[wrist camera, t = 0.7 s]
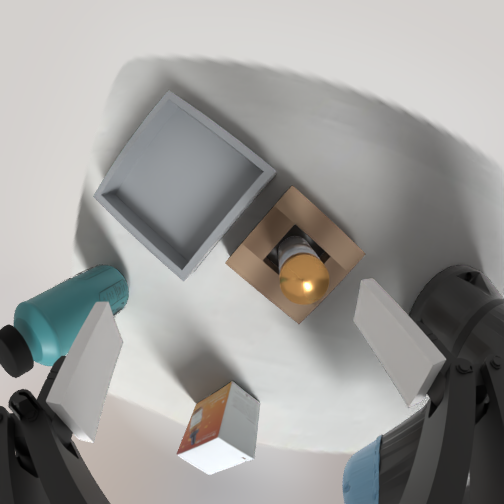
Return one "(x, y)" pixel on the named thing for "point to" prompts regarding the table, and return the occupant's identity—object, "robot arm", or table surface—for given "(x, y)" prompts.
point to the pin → (301, 272)
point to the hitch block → (273, 230)
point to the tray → (181, 184)
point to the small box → (221, 430)
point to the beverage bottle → (58, 318)
